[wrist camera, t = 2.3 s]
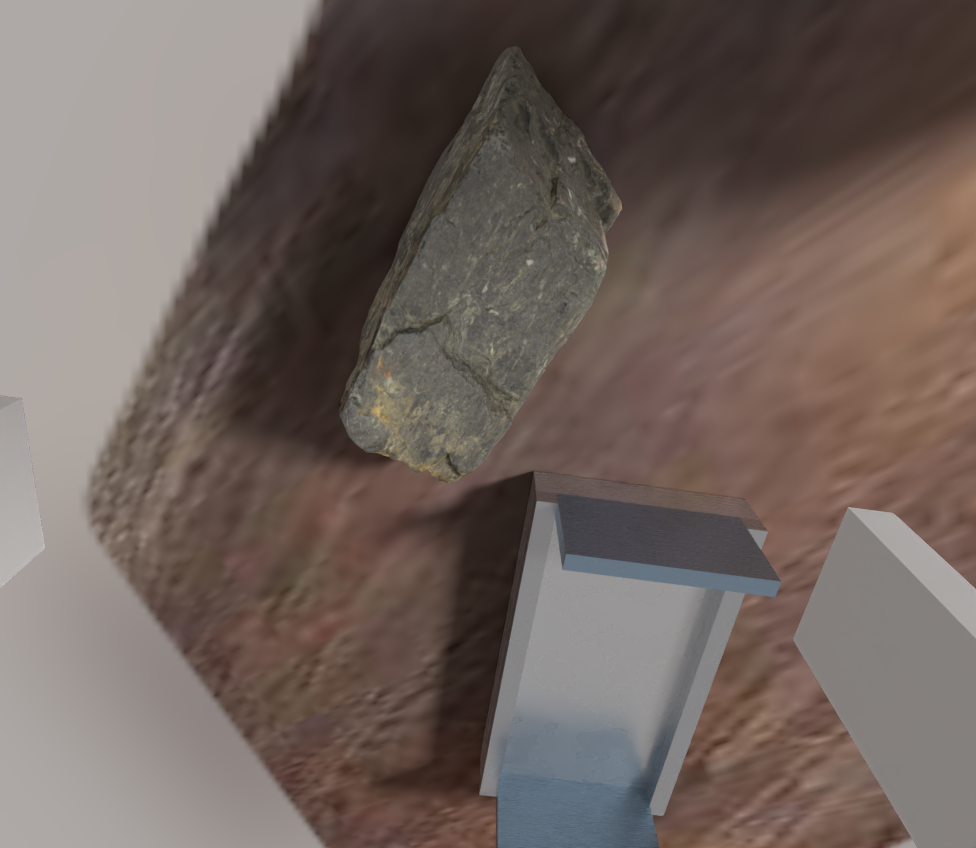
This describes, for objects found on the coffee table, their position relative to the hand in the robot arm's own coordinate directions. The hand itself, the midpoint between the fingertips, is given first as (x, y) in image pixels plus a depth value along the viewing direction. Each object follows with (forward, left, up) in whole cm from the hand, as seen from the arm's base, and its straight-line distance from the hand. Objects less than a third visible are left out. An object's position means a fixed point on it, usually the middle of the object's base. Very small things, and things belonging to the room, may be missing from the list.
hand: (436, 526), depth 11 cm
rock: (-1, 0, -20) cm, 20 cm away
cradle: (+19, +10, -20) cm, 29 cm away
